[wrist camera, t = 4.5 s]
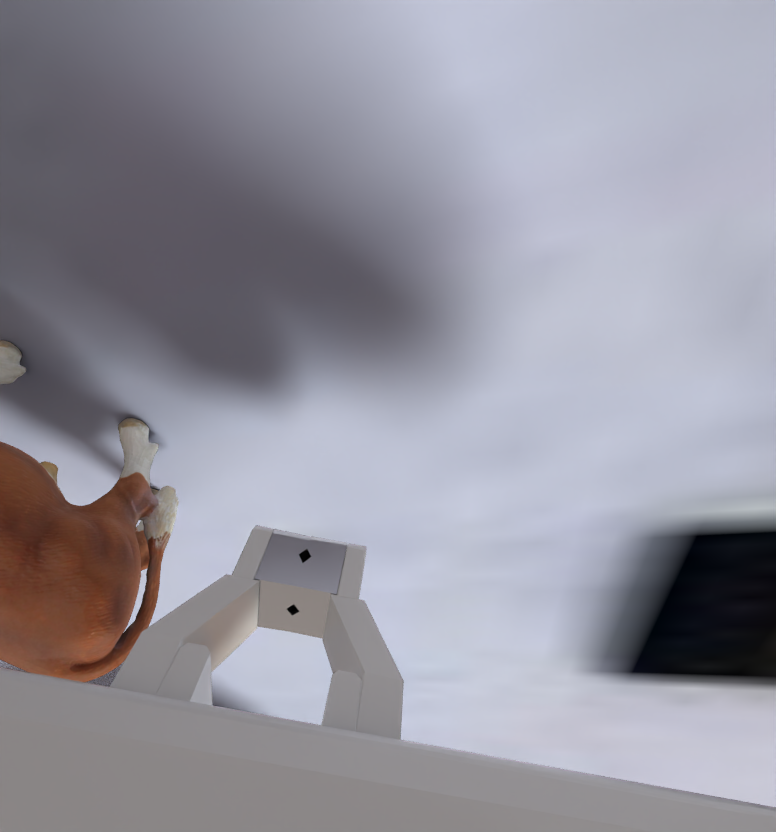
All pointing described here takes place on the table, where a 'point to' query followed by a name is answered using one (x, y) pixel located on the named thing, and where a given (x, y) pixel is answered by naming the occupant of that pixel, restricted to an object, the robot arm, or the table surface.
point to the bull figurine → (77, 557)
